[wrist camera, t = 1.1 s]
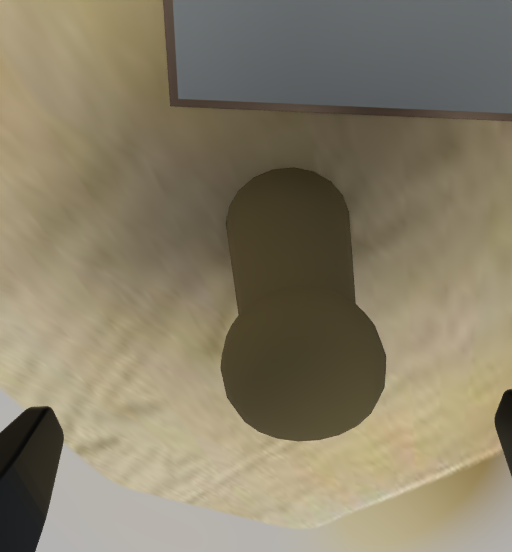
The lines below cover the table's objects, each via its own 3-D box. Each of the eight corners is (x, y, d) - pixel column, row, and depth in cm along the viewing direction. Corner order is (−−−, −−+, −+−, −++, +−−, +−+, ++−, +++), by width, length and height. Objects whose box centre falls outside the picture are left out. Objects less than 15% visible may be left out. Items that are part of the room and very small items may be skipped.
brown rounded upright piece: (251, 148, 20) (244, 302, 11) (372, 193, 21) (458, 367, 12) (210, 256, 23) (178, 445, 14) (317, 290, 24) (351, 484, 15)
